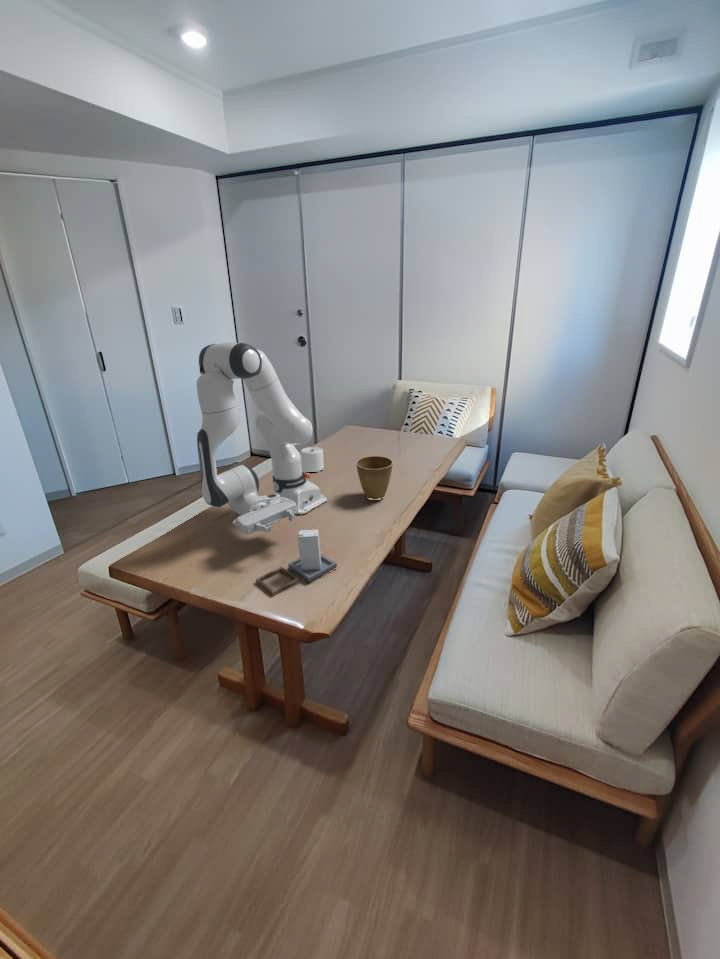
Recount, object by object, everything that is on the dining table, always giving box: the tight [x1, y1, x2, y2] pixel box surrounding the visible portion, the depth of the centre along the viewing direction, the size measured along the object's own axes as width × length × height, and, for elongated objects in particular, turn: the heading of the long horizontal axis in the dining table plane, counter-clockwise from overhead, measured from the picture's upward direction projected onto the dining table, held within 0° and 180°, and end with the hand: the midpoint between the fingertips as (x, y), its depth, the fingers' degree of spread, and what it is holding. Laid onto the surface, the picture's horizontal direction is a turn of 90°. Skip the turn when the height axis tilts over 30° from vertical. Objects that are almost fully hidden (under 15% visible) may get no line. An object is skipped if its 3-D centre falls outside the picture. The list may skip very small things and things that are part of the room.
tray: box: [287, 553, 338, 585], centre depth 131 cm, size 11×11×2 cm
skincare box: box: [297, 529, 322, 570], centre depth 128 cm, size 6×4×12 cm
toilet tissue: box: [300, 446, 325, 472], centre depth 206 cm, size 11×12×10 cm
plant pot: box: [355, 455, 393, 499], centre depth 175 cm, size 15×15×16 cm
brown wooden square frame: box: [255, 566, 300, 597], centre depth 125 cm, size 9×9×1 cm
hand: (281, 523), depth 134 cm, fingers open, 8 cm apart
